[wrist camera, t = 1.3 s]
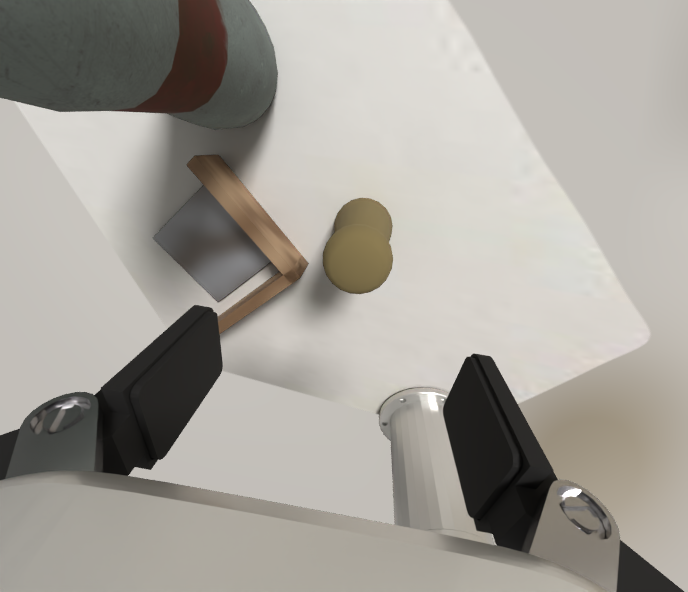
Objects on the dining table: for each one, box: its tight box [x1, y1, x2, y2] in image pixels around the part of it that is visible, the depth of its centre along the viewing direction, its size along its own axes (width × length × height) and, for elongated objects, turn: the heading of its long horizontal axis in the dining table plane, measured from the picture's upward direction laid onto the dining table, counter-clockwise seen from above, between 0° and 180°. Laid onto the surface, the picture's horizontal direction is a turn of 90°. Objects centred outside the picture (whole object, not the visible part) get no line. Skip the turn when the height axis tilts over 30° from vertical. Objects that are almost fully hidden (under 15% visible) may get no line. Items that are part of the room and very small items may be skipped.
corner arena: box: [153, 155, 309, 334], centre depth 30 cm, size 14×15×4 cm
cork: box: [323, 198, 393, 294], centre depth 24 cm, size 6×6×11 cm
